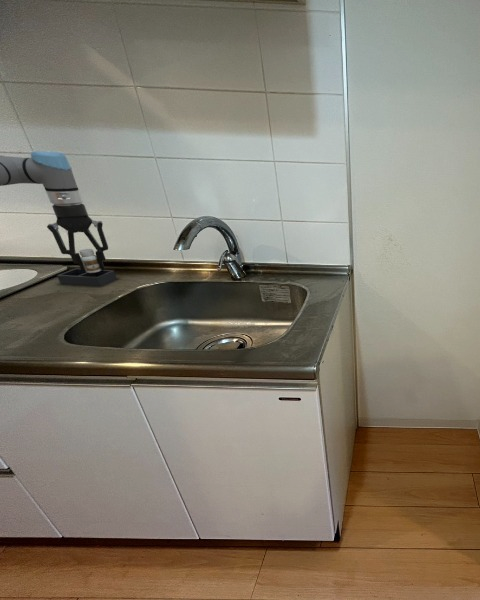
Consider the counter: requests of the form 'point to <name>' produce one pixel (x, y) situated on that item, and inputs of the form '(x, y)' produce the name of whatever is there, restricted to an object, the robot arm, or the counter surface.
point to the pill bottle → (90, 261)
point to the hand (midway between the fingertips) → (93, 270)
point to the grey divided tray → (86, 278)
